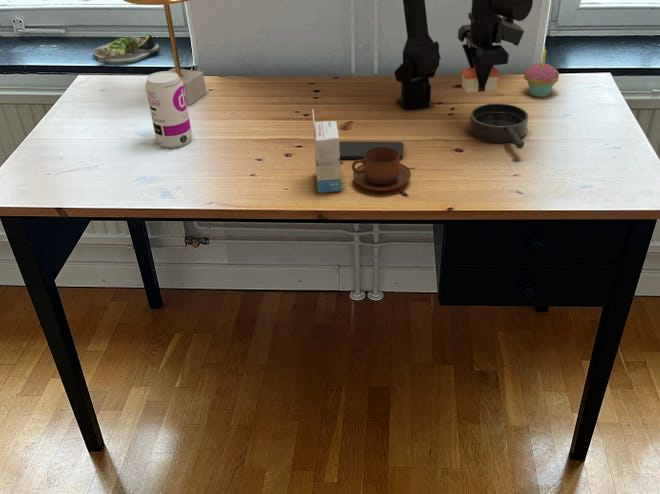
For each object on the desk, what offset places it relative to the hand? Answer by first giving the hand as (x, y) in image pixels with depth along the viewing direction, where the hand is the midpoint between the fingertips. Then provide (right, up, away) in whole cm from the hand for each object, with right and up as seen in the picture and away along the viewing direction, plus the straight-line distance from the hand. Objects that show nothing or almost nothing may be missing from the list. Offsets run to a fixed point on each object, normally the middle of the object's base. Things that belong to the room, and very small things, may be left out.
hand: (479, 83), depth 172 cm
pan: (+5, -9, +7) cm, 12 cm away
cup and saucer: (-22, -24, -10) cm, 34 cm away
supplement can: (-70, -11, +8) cm, 71 cm away
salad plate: (-93, +27, +53) cm, 110 cm away
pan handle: (+7, -14, -3) cm, 15 cm away
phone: (-24, -15, +1) cm, 29 cm away
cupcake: (+19, +6, +23) cm, 30 cm away
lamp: (-72, +6, +28) cm, 77 cm away
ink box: (-33, -24, -9) cm, 42 cm away
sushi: (0, -1, +1) cm, 1 cm away
